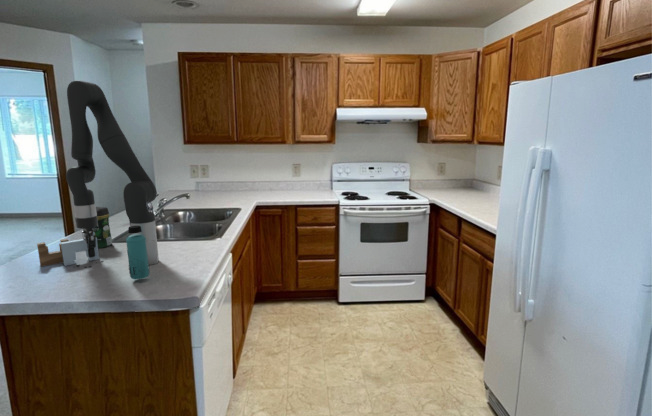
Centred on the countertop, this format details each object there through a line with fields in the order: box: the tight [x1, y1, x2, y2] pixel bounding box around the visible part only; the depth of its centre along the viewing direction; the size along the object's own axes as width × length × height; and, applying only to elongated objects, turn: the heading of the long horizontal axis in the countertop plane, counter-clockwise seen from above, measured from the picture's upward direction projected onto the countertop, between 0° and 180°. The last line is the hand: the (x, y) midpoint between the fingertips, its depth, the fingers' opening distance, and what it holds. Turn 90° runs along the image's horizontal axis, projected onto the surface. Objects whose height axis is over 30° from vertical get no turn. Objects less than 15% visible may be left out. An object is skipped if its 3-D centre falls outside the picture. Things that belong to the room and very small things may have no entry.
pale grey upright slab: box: [60, 238, 100, 267], centre depth 152 cm, size 2×12×9 cm, turn 133°
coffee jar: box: [92, 206, 113, 249], centre depth 172 cm, size 10×8×19 cm
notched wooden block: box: [36, 238, 70, 267], centre depth 150 cm, size 2×10×9 cm, turn 133°
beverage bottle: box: [125, 225, 150, 280], centre depth 132 cm, size 6×7×20 cm
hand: (91, 255), depth 155 cm, fingers closed on pale grey upright slab, 2 cm apart
